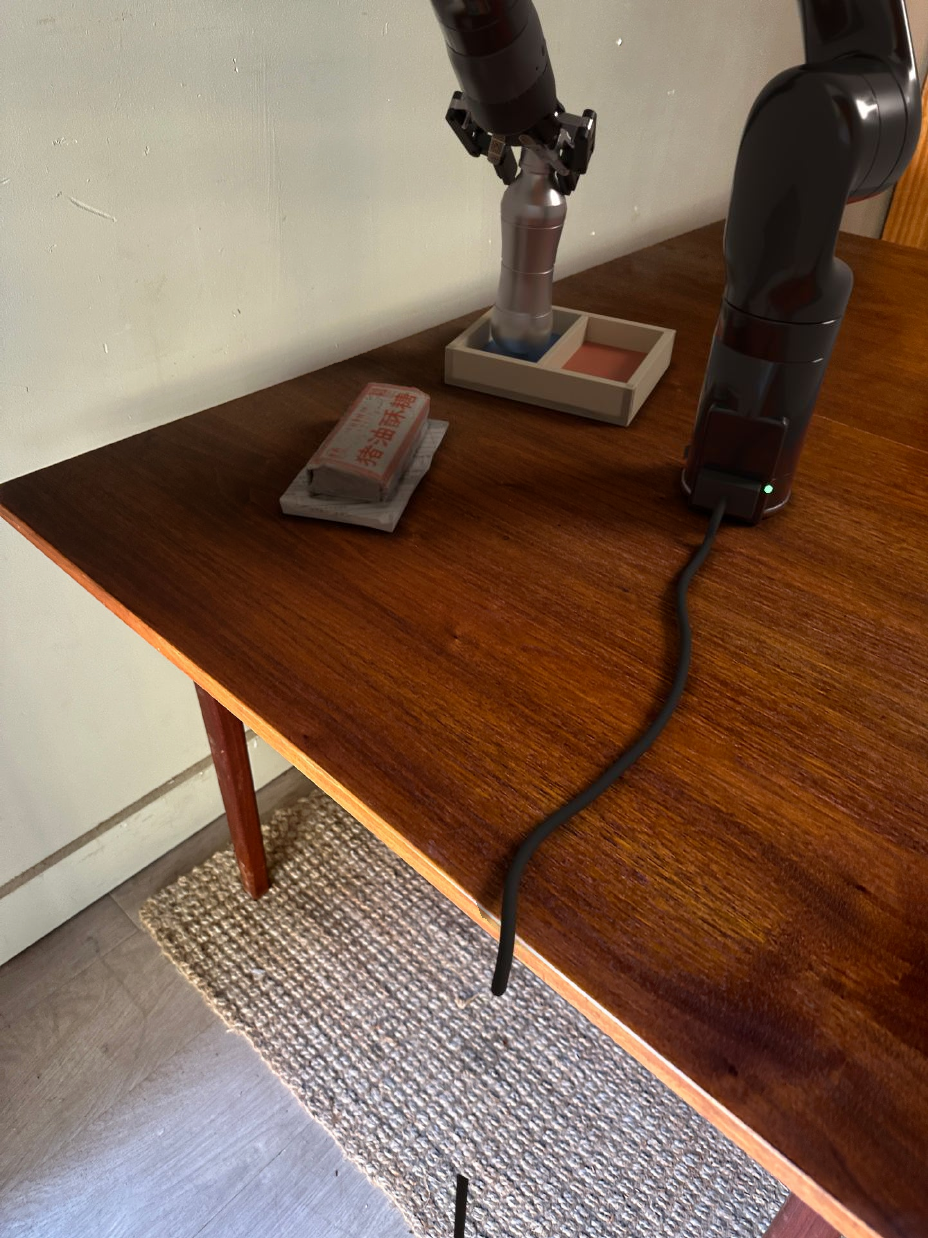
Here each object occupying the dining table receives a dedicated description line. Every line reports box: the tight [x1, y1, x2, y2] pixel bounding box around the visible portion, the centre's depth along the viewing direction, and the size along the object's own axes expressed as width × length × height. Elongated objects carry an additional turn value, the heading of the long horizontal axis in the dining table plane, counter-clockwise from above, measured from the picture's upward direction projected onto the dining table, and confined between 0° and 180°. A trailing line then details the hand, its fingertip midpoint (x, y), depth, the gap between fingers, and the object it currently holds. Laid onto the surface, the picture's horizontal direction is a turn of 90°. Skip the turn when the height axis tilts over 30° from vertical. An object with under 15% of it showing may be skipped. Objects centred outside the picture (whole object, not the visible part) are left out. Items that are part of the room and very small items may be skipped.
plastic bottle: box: [490, 147, 568, 354], centre depth 92 cm, size 6×7×20 cm
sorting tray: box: [444, 304, 677, 427], centre depth 97 cm, size 16×20×4 cm
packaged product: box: [279, 381, 450, 533], centre depth 80 cm, size 18×5×10 cm
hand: (540, 181), depth 89 cm, fingers closed on plastic bottle, 5 cm apart
